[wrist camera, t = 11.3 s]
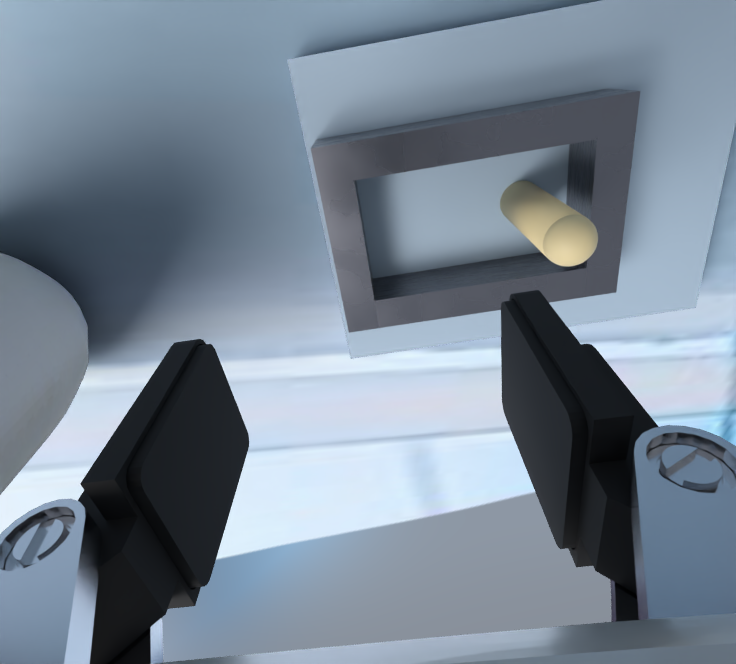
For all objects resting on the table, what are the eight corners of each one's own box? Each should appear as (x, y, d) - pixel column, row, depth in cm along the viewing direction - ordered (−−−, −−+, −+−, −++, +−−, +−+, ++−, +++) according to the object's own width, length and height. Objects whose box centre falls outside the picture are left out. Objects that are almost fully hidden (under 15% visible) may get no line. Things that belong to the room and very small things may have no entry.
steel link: (607, 88, 19) (640, 90, 16) (591, 271, 23) (616, 292, 20) (315, 139, 19) (310, 148, 17) (349, 308, 23) (348, 332, 21)
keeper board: (730, -22, 19) (975, -82, 11) (672, 291, 25) (800, 381, 18) (293, 60, 20) (255, 54, 12) (351, 339, 26) (349, 442, 19)
